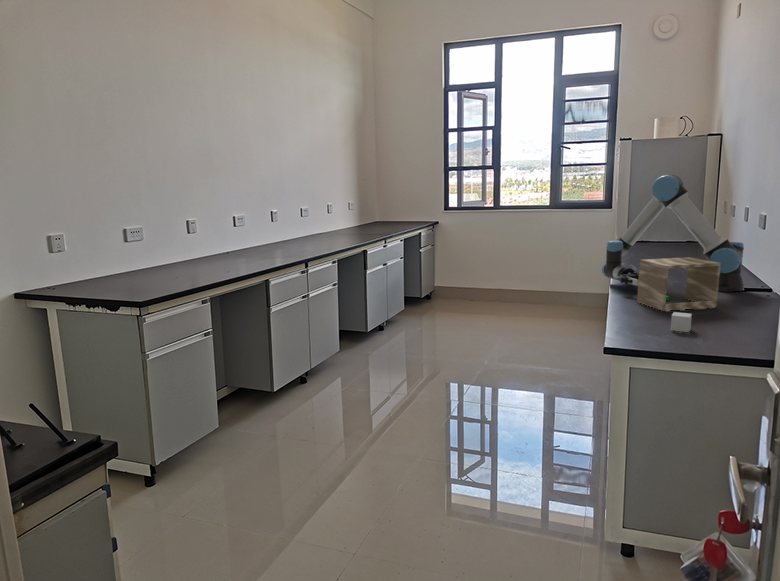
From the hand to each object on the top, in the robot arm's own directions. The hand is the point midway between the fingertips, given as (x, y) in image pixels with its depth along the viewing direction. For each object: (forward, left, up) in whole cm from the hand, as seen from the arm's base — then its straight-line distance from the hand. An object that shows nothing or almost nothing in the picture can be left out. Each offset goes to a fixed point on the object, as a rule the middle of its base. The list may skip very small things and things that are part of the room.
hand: (650, 281), depth 261 cm
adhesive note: (+24, +53, -7) cm, 59 cm away
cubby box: (0, +17, -7) cm, 19 cm away
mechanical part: (-1, +2, -7) cm, 8 cm away
